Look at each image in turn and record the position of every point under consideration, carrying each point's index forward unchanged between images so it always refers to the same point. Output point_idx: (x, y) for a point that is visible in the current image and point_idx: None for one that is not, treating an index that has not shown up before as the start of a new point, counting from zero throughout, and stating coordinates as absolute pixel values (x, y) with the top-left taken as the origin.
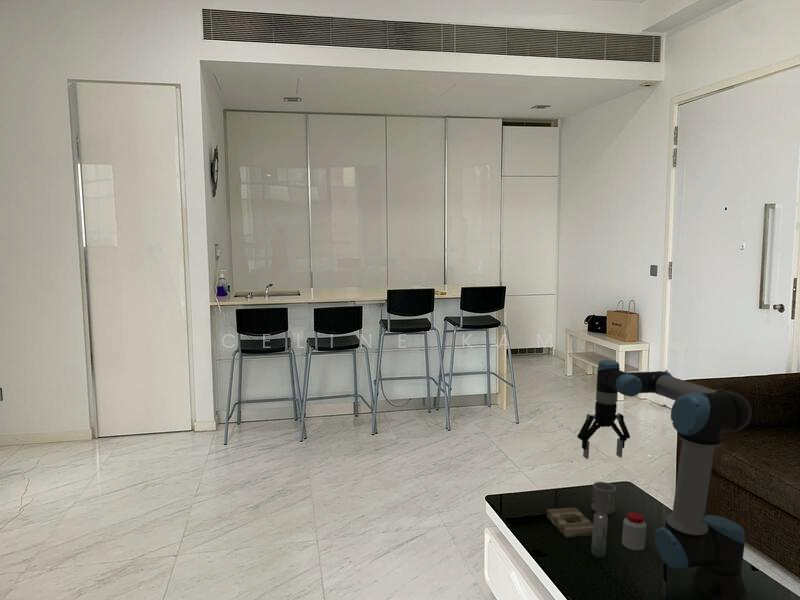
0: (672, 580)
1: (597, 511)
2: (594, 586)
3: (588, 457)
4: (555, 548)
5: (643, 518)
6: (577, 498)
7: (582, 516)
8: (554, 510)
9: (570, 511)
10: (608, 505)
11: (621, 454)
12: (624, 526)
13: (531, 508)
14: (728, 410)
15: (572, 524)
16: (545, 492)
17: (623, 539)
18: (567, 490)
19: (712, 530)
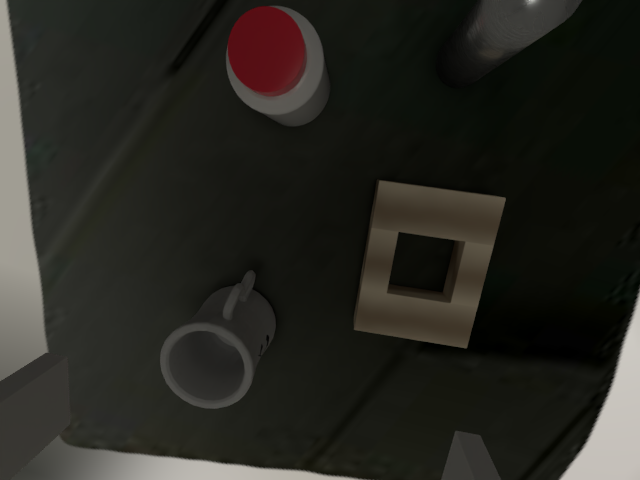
0: None
1: (271, 307)
2: None
3: (461, 444)
4: (584, 139)
5: (243, 15)
6: (273, 404)
7: (374, 267)
8: (446, 334)
9: (392, 311)
10: (245, 285)
11: (18, 375)
12: (323, 76)
13: (469, 395)
14: None
15: (454, 226)
16: (351, 466)
17: (328, 89)
18: (272, 455)
19: None
